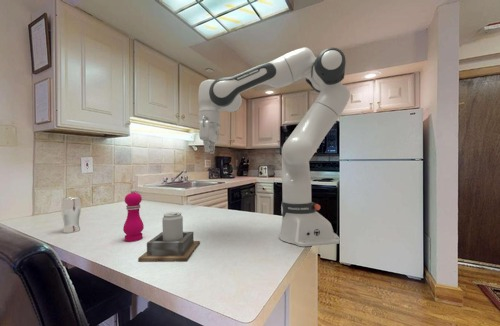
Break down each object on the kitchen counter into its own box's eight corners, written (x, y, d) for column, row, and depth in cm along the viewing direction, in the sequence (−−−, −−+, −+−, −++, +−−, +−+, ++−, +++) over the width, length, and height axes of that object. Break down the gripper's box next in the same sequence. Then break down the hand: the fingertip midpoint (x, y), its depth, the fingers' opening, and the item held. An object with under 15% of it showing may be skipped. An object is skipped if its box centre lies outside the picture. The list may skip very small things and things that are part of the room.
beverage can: (175, 254, 70) (174, 216, 70) (158, 251, 72) (158, 215, 72) (187, 246, 76) (186, 211, 76) (171, 244, 78) (171, 210, 78)
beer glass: (57, 232, 98) (57, 199, 98) (75, 228, 104) (74, 196, 105) (67, 234, 95) (67, 199, 95) (84, 229, 102) (84, 197, 102)
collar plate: (199, 243, 82) (199, 230, 82) (187, 261, 67) (186, 244, 67) (159, 243, 82) (159, 230, 82) (138, 261, 67) (138, 245, 67)
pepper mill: (147, 237, 90) (147, 188, 90) (131, 243, 83) (131, 190, 83) (135, 235, 93) (135, 187, 93) (119, 240, 86) (118, 189, 86)
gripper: (211, 114, 82) (212, 151, 82) (220, 124, 102) (221, 154, 102) (194, 114, 82) (195, 151, 82) (207, 124, 102) (207, 154, 102)
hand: (209, 153), depth 92 cm, fingers open, 8 cm apart
